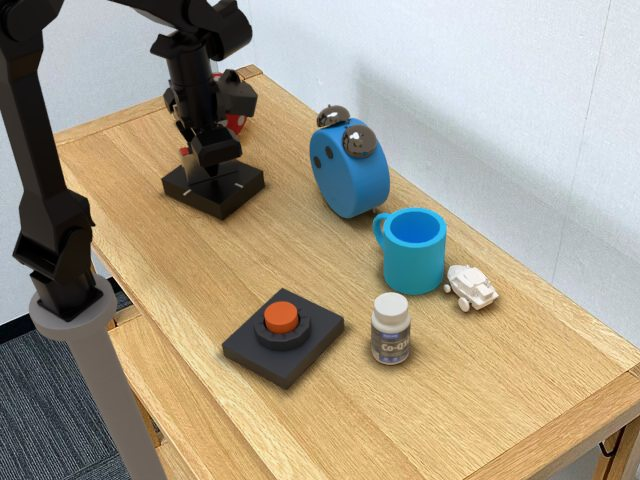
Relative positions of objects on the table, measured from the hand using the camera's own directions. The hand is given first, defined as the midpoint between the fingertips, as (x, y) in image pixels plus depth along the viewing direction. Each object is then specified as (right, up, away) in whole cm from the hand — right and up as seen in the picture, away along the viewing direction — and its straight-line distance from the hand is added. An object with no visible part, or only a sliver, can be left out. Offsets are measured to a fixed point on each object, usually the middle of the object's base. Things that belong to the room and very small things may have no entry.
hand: (211, 171), depth 115 cm
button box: (+13, -26, -19) cm, 35 cm away
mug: (+29, -16, -10) cm, 34 cm away
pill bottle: (+26, -27, -21) cm, 43 cm away
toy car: (+37, -20, -15) cm, 44 cm away
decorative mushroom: (-2, +11, +15) cm, 18 cm away
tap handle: (0, 0, 0) cm, 0 cm away
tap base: (0, -2, +3) cm, 4 cm away
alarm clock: (+21, -6, -1) cm, 22 cm away
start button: (+13, -24, -22) cm, 35 cm away
